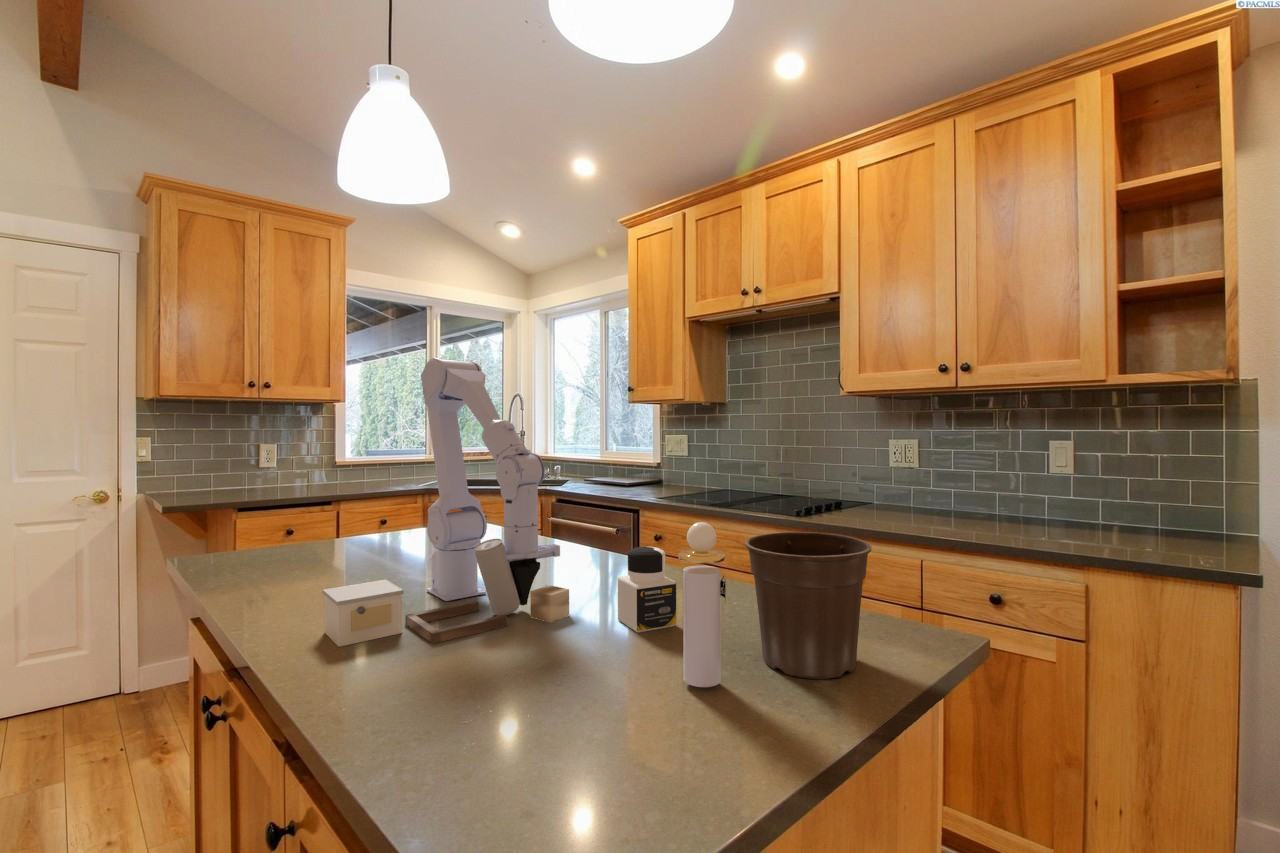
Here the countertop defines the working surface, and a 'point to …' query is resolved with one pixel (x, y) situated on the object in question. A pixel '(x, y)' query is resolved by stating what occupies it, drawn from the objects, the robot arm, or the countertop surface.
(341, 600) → the control box
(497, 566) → the beverage can
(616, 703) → the countertop surface
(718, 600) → the perfume bottle
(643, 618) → the medicine bottle
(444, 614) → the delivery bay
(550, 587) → the beech block
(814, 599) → the plant pot
